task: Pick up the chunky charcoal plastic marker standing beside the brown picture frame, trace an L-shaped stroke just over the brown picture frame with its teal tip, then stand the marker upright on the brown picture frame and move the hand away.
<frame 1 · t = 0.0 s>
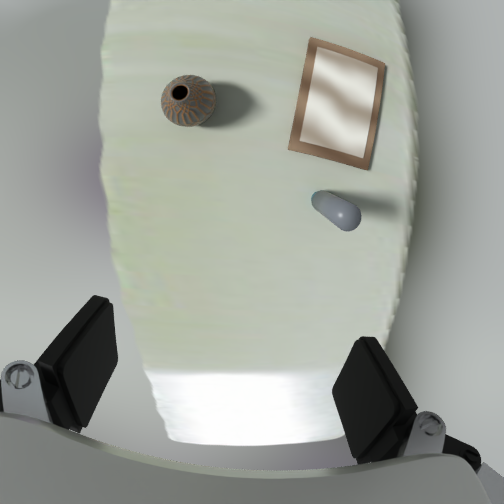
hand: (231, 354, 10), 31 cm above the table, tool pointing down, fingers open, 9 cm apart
marker: (319, 199, 39), on the table
brown picture frame: (339, 101, 34), on the table
vase: (193, 105, 34), on the table
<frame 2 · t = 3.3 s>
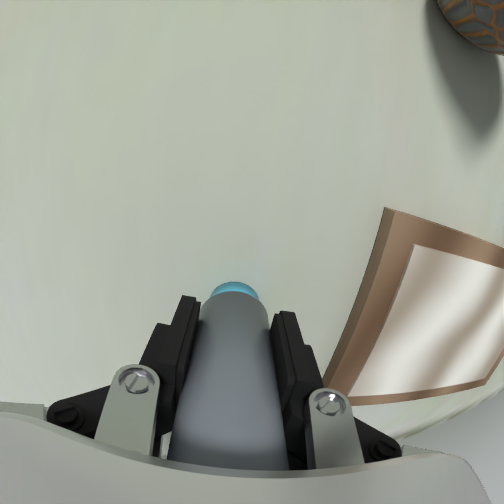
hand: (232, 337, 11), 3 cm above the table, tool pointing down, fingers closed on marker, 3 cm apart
marker: (234, 304, 13), on the table, touching gripper
brown picture frame: (456, 325, 15), on the table
vase: (458, 15, 8), on the table
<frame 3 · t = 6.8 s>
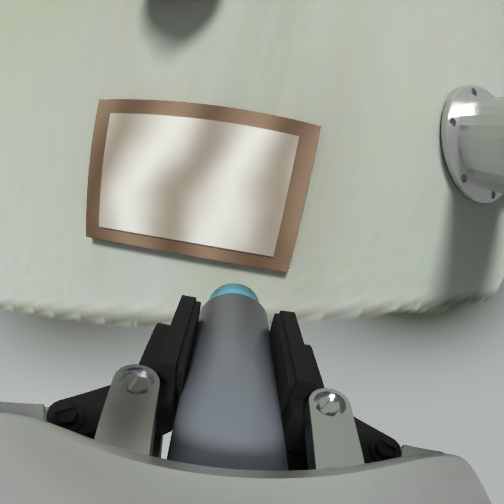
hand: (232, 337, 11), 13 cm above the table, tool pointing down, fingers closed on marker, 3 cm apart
marker: (234, 306, 13), point 11 cm above the table, touching gripper
brown picture frame: (191, 179, 21), on the table
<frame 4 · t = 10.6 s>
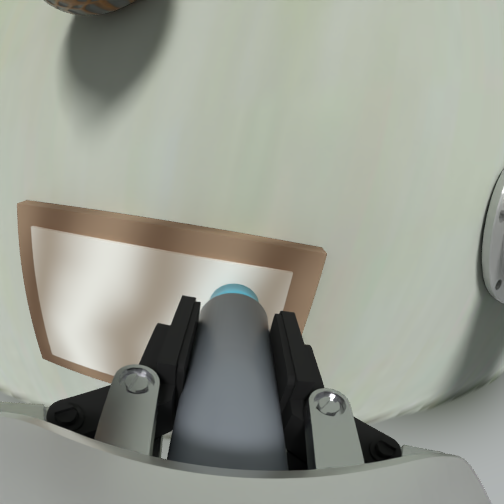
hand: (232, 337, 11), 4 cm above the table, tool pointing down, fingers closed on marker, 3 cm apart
marker: (234, 306, 13), point 2 cm above the table, touching gripper
brown picture frame: (145, 316, 16), on the table
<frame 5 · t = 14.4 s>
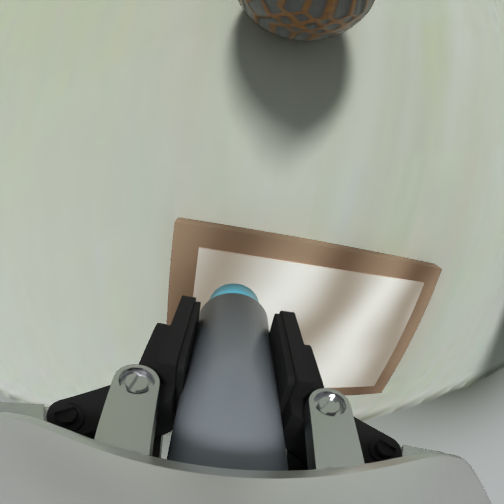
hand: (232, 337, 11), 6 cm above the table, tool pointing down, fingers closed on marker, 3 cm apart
marker: (233, 305, 13), point 4 cm above the table, touching gripper
brown picture frame: (304, 326, 18), on the table
vase: (291, 10, 12), on the table
when the fingers open (4 cm above the table, at t = 17.8 s): marker stays where it is, resting on brown picture frame.
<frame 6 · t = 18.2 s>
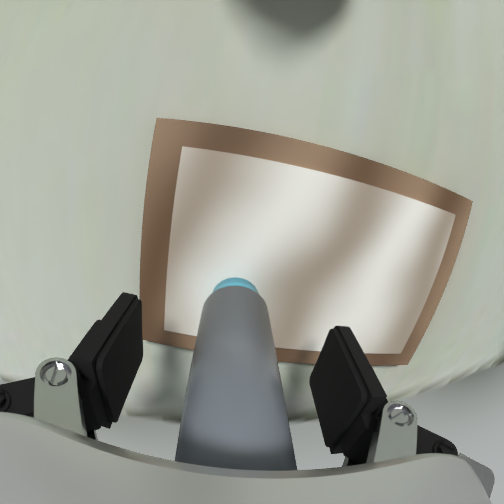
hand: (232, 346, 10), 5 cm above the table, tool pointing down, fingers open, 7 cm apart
marker: (235, 299, 14), point 1 cm above the table, touching brown picture frame
brown picture frame: (315, 264, 15), on the table
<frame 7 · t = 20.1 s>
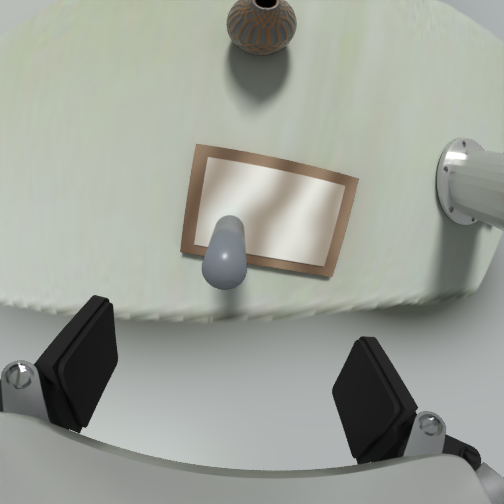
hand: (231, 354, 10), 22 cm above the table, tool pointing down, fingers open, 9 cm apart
marker: (230, 226, 30), point 1 cm above the table, touching brown picture frame
brown picture frame: (269, 211, 31), on the table
vase: (259, 37, 24), on the table
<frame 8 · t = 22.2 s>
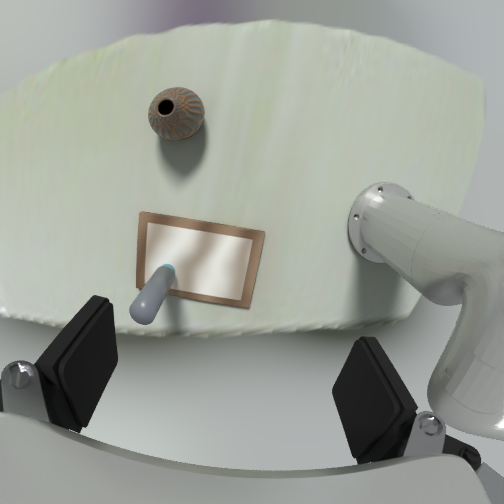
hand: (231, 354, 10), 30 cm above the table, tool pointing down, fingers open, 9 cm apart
marker: (167, 271, 40), point 1 cm above the table, touching brown picture frame
brown picture frame: (196, 260, 41), on the table
vase: (182, 117, 34), on the table
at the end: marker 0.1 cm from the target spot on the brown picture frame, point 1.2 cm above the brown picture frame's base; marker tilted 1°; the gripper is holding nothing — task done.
